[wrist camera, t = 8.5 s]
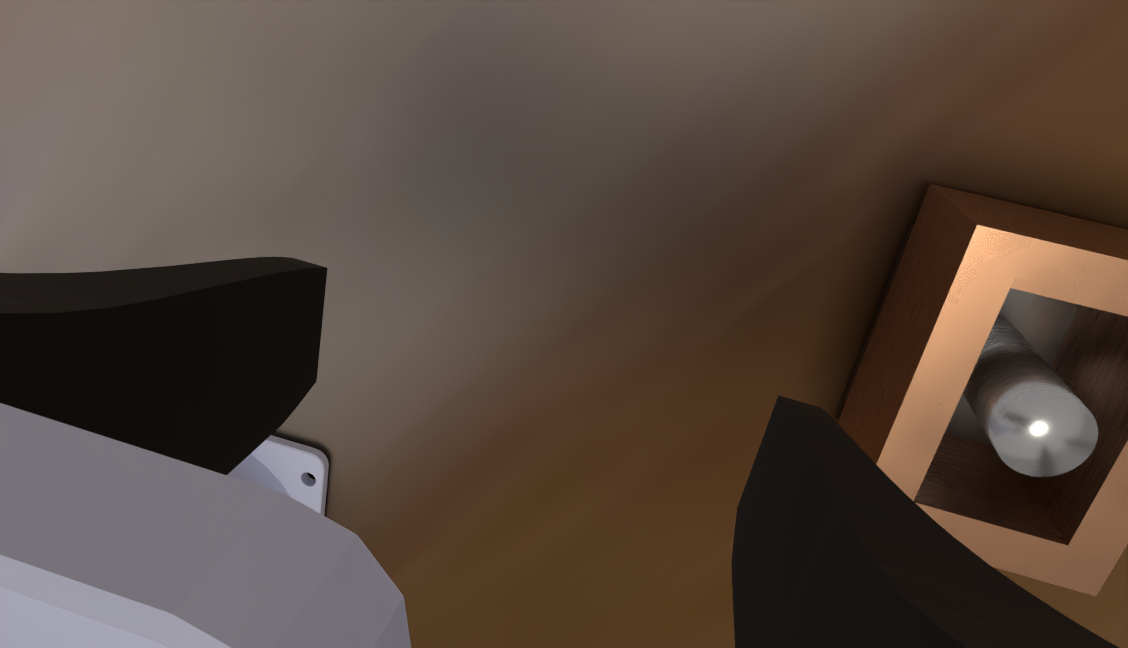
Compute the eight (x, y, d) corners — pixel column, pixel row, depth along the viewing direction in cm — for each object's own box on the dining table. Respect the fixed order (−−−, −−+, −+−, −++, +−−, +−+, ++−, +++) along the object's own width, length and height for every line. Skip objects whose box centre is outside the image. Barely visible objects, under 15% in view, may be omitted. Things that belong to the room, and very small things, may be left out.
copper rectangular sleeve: (1032, 492, 20) (1096, 596, 17) (831, 437, 21) (850, 526, 17) (1166, 238, 17) (1276, 295, 14) (930, 183, 18) (977, 224, 14)
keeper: (1032, 446, 21) (1119, 574, 16) (842, 396, 21) (871, 503, 16) (1122, 272, 19) (1251, 357, 14) (910, 221, 19) (964, 286, 15)
